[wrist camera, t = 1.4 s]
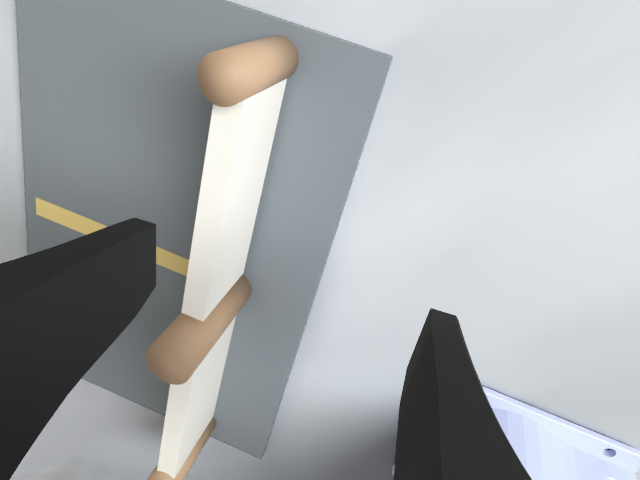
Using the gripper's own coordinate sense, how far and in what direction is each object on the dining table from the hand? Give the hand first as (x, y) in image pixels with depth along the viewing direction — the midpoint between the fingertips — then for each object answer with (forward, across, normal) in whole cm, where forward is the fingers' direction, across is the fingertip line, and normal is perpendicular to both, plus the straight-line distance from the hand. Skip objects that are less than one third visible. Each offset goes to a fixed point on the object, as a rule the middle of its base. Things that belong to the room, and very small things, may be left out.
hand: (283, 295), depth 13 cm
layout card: (+10, +8, +7) cm, 15 cm away
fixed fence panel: (+9, +5, +13) cm, 16 cm away
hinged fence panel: (+9, +4, +1) cm, 10 cm away
